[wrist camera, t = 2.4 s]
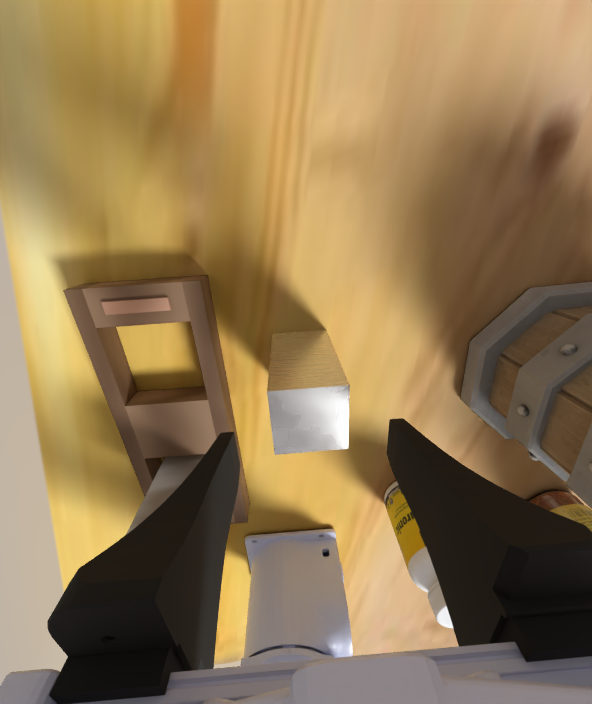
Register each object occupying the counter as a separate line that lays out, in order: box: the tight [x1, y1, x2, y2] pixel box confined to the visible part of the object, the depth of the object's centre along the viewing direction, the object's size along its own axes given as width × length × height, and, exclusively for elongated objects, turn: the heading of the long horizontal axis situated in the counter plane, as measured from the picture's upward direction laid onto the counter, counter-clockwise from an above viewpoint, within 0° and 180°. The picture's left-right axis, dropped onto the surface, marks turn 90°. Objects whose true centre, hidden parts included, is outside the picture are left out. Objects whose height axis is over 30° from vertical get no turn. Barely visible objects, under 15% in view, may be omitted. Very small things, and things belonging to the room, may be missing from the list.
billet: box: [267, 330, 349, 455], centre depth 18 cm, size 4×4×8 cm
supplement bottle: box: [384, 481, 453, 628], centre depth 24 cm, size 5×5×10 cm
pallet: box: [63, 275, 250, 535], centre depth 20 cm, size 8×22×8 cm, turn 3°
